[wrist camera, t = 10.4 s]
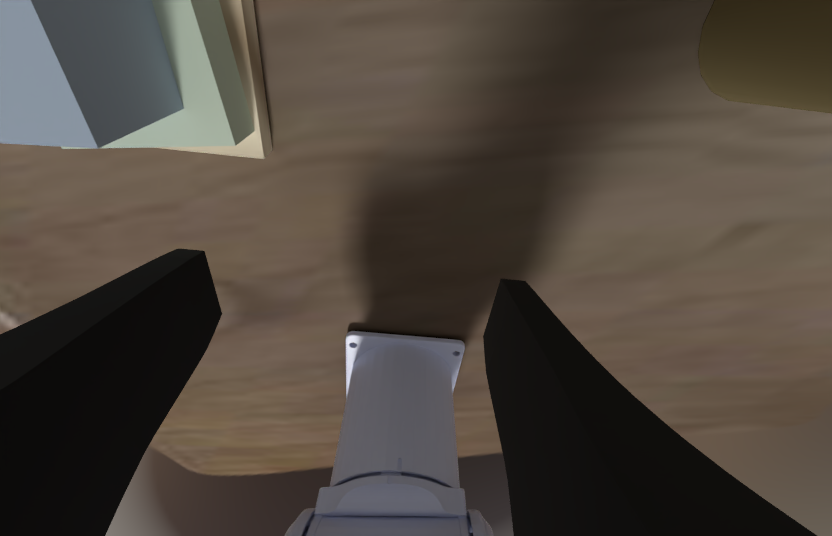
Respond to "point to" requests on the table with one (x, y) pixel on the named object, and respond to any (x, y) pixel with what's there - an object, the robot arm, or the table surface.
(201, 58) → the green block
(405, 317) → the table surface
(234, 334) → the table surface
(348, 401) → the robot arm
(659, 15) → the table surface
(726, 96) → the olive tall rounded piece
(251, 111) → the birch slab
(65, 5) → the blue cube
